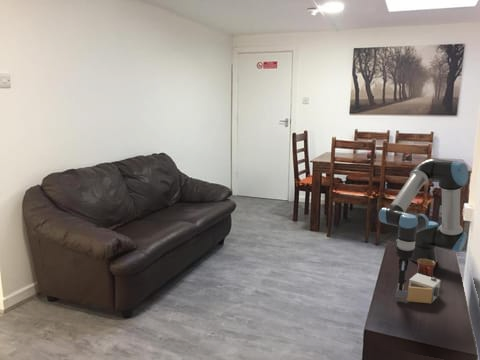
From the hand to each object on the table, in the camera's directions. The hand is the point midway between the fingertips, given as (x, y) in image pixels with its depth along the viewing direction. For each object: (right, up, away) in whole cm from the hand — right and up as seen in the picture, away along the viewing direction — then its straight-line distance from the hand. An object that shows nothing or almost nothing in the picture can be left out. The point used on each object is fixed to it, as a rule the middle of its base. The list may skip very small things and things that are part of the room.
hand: (399, 294), depth 186 cm
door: (+6, -3, -2) cm, 7 cm away
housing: (+13, -2, +5) cm, 14 cm away
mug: (+21, +1, +20) cm, 29 cm away
